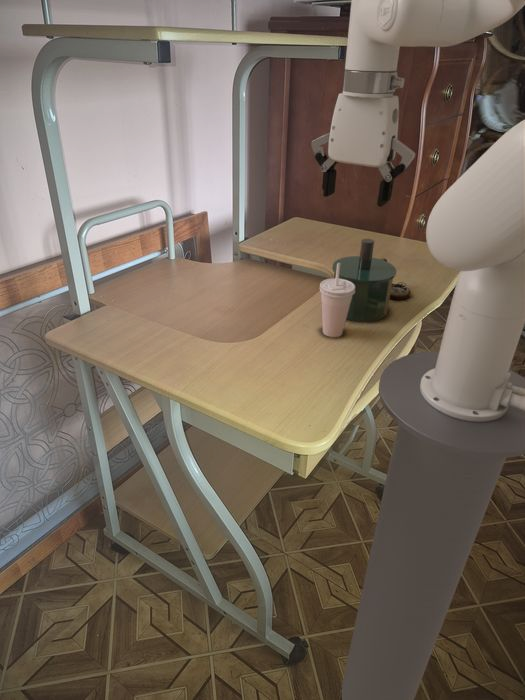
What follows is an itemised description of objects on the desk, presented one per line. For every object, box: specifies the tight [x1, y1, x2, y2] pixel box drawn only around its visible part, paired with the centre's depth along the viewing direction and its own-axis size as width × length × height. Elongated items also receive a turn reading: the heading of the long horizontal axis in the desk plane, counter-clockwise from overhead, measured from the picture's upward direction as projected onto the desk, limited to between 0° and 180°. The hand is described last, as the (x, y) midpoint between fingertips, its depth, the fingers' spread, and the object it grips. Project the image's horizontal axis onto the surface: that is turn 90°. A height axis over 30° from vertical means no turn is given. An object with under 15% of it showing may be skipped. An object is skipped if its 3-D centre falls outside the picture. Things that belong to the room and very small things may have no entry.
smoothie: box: [319, 263, 355, 338], centre depth 90 cm, size 6×6×14 cm
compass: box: [380, 258, 412, 300], centre depth 108 cm, size 8×8×7 cm
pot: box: [333, 271, 394, 323], centre depth 100 cm, size 11×11×8 cm
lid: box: [332, 238, 397, 283], centre depth 97 cm, size 12×12×7 cm
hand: (354, 199), depth 84 cm, fingers open, 9 cm apart
